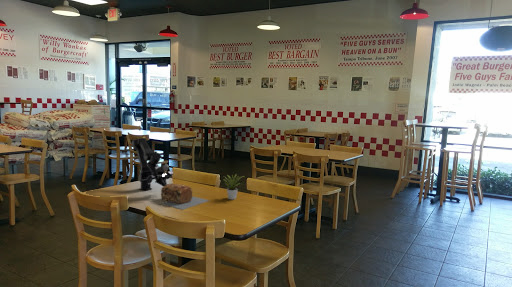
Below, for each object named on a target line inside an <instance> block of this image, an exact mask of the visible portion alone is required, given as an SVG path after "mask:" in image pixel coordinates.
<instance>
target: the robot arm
mask: <svg viewBox="0 0 512 287" xmlns="http://www.w3.org/2000/svg"><path fill="white" fill-rule="evenodd" d="M131 147H132V149H133V150H134V151H135V152H136V154H137V159H138V162H139V166H140V171H139V175H138V176H137V177H138V179H137V181H138V182H140V187H139V188H138V190H141V191H143V192H144V191H150V190H152V189H153V188H152V187H151V183H152V182H153V180H155V181H154V182H155V184H158V185H160V186H162V188H163V187H164V186H165V185H167V184H168V182H167V180H169V179H171V177H172V176H173V175H174V172H173V171H172V170H169V169H170V167H169V165H168V163H167V164H163V165H161V166H159V162H160V160H161V159H162V155H161V154H160V153H159V152H158V151H156V150H155V151H154V149H151V148H150V145H149V144H148V142H147V138H145V137H140V138H137V139H135V138H134V139H133V140H132V141H131ZM168 170H169V171H168Z"/></svg>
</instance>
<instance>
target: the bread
mask: <svg viewBox="0 0 512 287" xmlns="http://www.w3.org/2000/svg"><path fill="white" fill-rule="evenodd" d="M160 192H161V193H160V195H161V199H162V200H165V201H167V202H168V201H171V202H175V203H179V204H181V203H186V202H190V201H191V199H192V196H193V188H192V187H191V186H188V185H183V184H178V183H167V185H165V186H164V187H163V186H162V188H161V189H160Z"/></svg>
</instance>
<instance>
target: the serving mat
mask: <svg viewBox="0 0 512 287" xmlns="http://www.w3.org/2000/svg"><path fill="white" fill-rule="evenodd" d="M209 201H210V199H205V198H200V197H197V196H196V197H195V196H193V195H192V199H191V201H190V202H186V203H181V204H179V203H175V202H171V201H168V200H167V201H166V202H161V205H164V206H167V207H170V208H174V209H178V210H181V211H183V210H186V209H188V208H191V207H195V206H198V205H201V204H204V203H207V202H209Z"/></svg>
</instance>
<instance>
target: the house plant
mask: <svg viewBox="0 0 512 287" xmlns="http://www.w3.org/2000/svg"><path fill="white" fill-rule="evenodd" d="M233 175H234V174H231V176H232V177H231V176H230V175H228V178H227V177H226V176H222V177H224V178H225V179H224V178H223V179H222V180H223V181H224V184H225V185H227V186H226V193H227V199H228V200H236V199H237V195H238V188H237V187H241V185H240V184H241V183H240V182H239V180H240V179H241V178H243V177H244V178H245V175H243V176H239V175H238V174H237V173H236V174H235V175H234V176H233ZM237 175H238V176H237ZM238 182H239V183H238Z"/></svg>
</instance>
